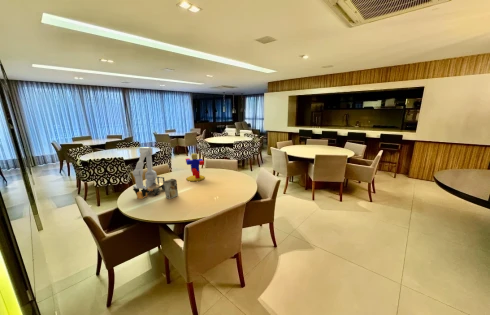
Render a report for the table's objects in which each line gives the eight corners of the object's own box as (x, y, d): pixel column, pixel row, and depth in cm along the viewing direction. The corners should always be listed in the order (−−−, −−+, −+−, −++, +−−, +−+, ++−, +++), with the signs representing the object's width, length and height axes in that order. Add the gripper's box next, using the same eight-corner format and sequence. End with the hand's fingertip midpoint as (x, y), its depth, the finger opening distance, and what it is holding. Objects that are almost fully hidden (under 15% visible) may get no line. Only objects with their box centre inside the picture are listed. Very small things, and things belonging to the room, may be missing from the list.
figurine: (203, 174, 241) (201, 151, 234) (206, 180, 222) (205, 154, 215) (185, 177, 233) (183, 152, 226) (187, 183, 213) (185, 156, 206)
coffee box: (173, 194, 185) (172, 178, 181) (178, 195, 181) (176, 179, 178) (165, 197, 177) (163, 181, 173) (170, 199, 174) (168, 182, 170)
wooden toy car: (155, 195, 181) (153, 183, 178) (143, 194, 185) (142, 181, 182) (167, 189, 197) (166, 177, 194) (156, 187, 201) (155, 176, 198)
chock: (137, 198, 176) (136, 192, 175) (143, 195, 183) (142, 189, 182) (141, 198, 175) (140, 193, 174) (147, 195, 181) (146, 190, 180)
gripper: (129, 182, 173) (131, 196, 176) (141, 184, 168) (143, 198, 172) (135, 179, 179) (137, 193, 182) (148, 181, 175) (150, 195, 178)
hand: (141, 195), depth 177 cm, fingers open, 7 cm apart
